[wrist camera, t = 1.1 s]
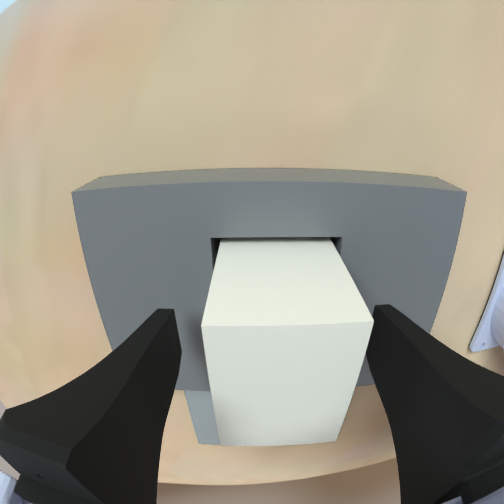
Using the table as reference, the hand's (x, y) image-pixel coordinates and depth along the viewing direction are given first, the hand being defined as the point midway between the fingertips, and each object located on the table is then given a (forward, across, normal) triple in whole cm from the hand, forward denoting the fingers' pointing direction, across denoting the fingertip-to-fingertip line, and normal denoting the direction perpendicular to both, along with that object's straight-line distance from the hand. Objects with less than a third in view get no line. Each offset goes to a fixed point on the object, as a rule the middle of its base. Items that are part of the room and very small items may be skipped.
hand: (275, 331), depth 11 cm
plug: (+4, 0, 0) cm, 4 cm away
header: (+4, 0, 0) cm, 4 cm away
